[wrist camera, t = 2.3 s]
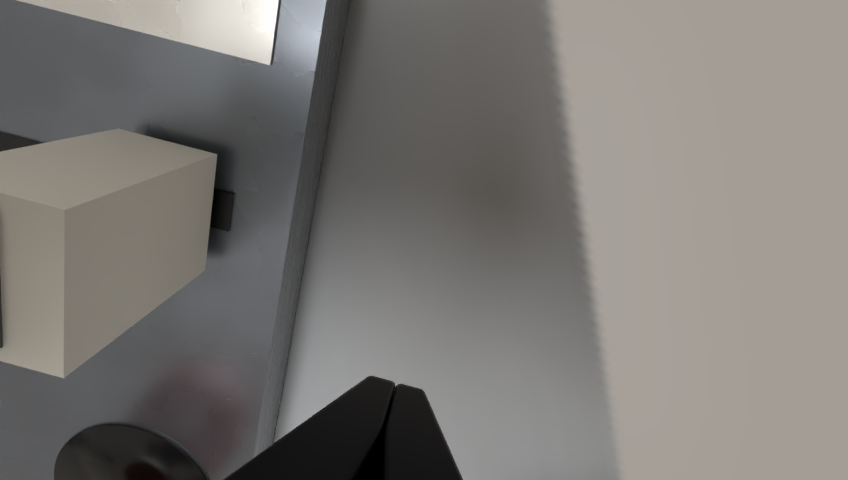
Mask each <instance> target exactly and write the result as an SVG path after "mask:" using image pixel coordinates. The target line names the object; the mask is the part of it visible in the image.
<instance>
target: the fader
mask: <svg viewBox="0 0 848 480" xmlns="http://www.w3.org/2000/svg"><path fill="white" fill-rule="evenodd" d="M216 163H217V154H214V153H211V152H207V151H203V150H199V149H195V148H191V147H188V146H184V145H180V144H176V143H172V142H168V141H165V140H161V139H157V138H153V137H149V136H145V135H142V134H138V133H134V132H130V131H126V130H122V129H119V128H118V129H113V130H108V131H103V132H98V133H93V134H87V135H82V136H77V137H72V138H67V139H62V140H57V141H52V142H47V143H42V144H36V145H31V146H26V147H21V148H16V149H11V150H6V151H1V152H0V361H2V362H6V363H9V364H13V365H17V366H20V367H24V368H28V369H31V370H35V371H39V372H42V373H46V374H50V375H53V376H57V377H61V378H65V377H66V376H67V375H69V374H70V373H71V372H73V371H74V370H75V369H77V368H78V367H79V366H80V365H82V364H83V363H84V362H86V361H87V360H88V359H90V358H91V357H92V356H94V355H95V354H96V353H98V352H99V351H100V350H101V349H103V348H104V347H105V346H107V345H108V344H109V343H111V342H112V341H113V340H115V339H116V338H117V337H118V336H120V335H121V334H122V333H124V332H125V331H126V330H128V329H129V328H130V327H132V326H133V325H134V324H136V323H137V322H138V321H139V320H141V319H142V318H143V317H145V316H146V315H147V314H149V313H150V312H151V311H153V310H154V309H155V308H156V307H158V306H159V305H160V304H162V303H163V302H164V301H166V300H167V299H168V298H170V297H171V296H172V295H174V294H175V293H176V292H177V291H179V290H180V289H181V288H183V287H184V286H185V285H187V284H188V283H189V282H191V281H192V280H193V279H194V278H196V277H197V276H198V275H200V274H201V273H202V272H204V271H205V267H206V258H207V248H208V239H209V229H210V220H211V210H212V201H213V191H214V182H215V172H216Z"/></svg>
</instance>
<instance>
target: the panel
mask: <svg viewBox="0 0 848 480" xmlns="http://www.w3.org/2000/svg"><path fill="white" fill-rule="evenodd" d="M349 3H350V0H0V152H1V151H6V150H11V149H16V148H21V147H26V146H31V145H36V144H42V143H47V142H52V141H57V140H62V139H67V138H72V137H77V136H82V135H87V134H93V133H98V132H103V131H108V130H113V129H118V128H119V129H122V130H126V131H130V132H134V133H138V134H142V135H145V136H149V137H153V138H157V139H161V140H165V141H168V142H172V143H176V144H180V145H184V146H188V147H191V148H195V149H199V150H203V151H207V152H211V153H214V154H217V163H216V172H215V182H214V191H213V201H212V210H211V220H210V229H209V239H208V248H207V258H206V267H205V271H204V272H202V273H201V274H200V275H198V276H197V277H196V278H194V279H193V280H192V281H191V282H189V283H188V284H187V285H185V286H184V287H183V288H181V289H180V290H179V291H177V292H176V293H175V294H174V295H172V296H171V297H170V298H168V299H167V300H166V301H164V302H163V303H162V304H160V305H159V306H158V307H156V308H155V309H154V310H153V311H151V312H150V313H149V314H147V315H146V316H145V317H143V318H142V319H141V320H139V321H138V322H137V323H136V324H134V325H133V326H132V327H130V328H129V329H128V330H126V331H125V332H124V333H122V334H121V335H120V336H118V337H117V338H116V339H115V340H113V341H112V342H111V343H109V344H108V345H107V346H105V347H104V348H103V349H101V350H100V351H99V352H98V353H96V354H95V355H94V356H92V357H91V358H90V359H88V360H87V361H86V362H84V363H83V364H82V365H80V366H79V367H78V368H77V369H75V370H74V371H73V372H71V373H70V374H69V375H67V376H66V377H65V378H61V377H57V376H53V375H50V374H46V373H42V372H39V371H35V370H31V369H28V368H24V367H20V366H17V365H13V364H9V363H6V362H2V361H0V480H223V479H224V478H226V477H227V476H229V475H230V474H231V473H233V472H234V471H236V470H237V469H238V468H240V467H241V466H243V465H244V464H246V463H247V462H248V461H250V460H251V459H253V458H254V457H255V456H257V455H258V454H260V453H261V452H262V451H264V450H265V449H267V448H268V447H270V446H271V445H272V444H273V440H274V435H275V429H276V423H277V417H278V412H279V406H280V400H281V394H282V389H283V383H284V377H285V371H286V366H287V360H288V354H289V348H290V343H291V337H292V331H293V325H294V320H295V314H296V308H297V302H298V296H299V291H300V285H301V279H302V273H303V268H304V262H305V256H306V250H307V245H308V239H309V233H310V227H311V222H312V216H313V210H314V204H315V199H316V193H317V187H318V181H319V176H320V170H321V164H322V158H323V153H324V147H325V141H326V135H327V130H328V124H329V118H330V112H331V107H332V101H333V95H334V89H335V84H336V78H337V72H338V66H339V61H340V55H341V49H342V43H343V38H344V32H345V26H346V20H347V14H348V9H349Z"/></svg>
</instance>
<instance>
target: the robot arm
mask: <svg viewBox="0 0 848 480" xmlns="http://www.w3.org/2000/svg"><path fill="white" fill-rule="evenodd" d="M394 390H395V391H394ZM393 394H394V395H393ZM223 480H463V479H462V477H461V474H460V472H459V470H458V467H457V465H456V463H455V461H454V458H453V456H452V454H451V451H450V449H449V447H448V445H447V442H446V440H445V438H444V435H443V433H442V431H441V428H440V426H439V424H438V422H437V419H436V417H435V415H434V412H433V410H432V408H431V406H430V403H429V401H428V399H427V396H426V394H425V392H424V391H423V390H422V389H419V388H415V387H412V386H408V385H404V384H398V385H397V386H396V388H395V383H394V382H392V381H389V380H386V379H382V378H378V377H375V376H368V377H367V378H365V379H364V380H363V381H361V382H360V383H358V384H357V385H355V386H354V387H353V388H351V389H350V390H348V391H347V392H346V393H344V394H343V395H341V396H340V397H339V398H337V399H336V400H334V401H333V402H332V403H330V404H329V405H327V406H326V407H324V408H323V409H322V410H320V411H319V412H317V413H316V414H315V415H313V416H312V417H310V418H309V419H308V420H306V421H305V422H303V423H302V424H301V425H299V426H298V427H296V428H295V429H293V430H292V431H291V432H289V433H288V434H286V435H285V436H284V437H282V438H281V439H279V440H278V441H277V442H275V443H274V444H272V445H271V446H270V447H268V448H267V449H265V450H264V451H262V452H261V453H260V454H258V455H257V456H255V457H254V458H253V459H251V460H250V461H248V462H247V463H246V464H244V465H243V466H241V467H240V468H238V469H237V470H236V471H234V472H233V473H231V474H230V475H229V476H227V477H226V478H224V479H223Z"/></svg>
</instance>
